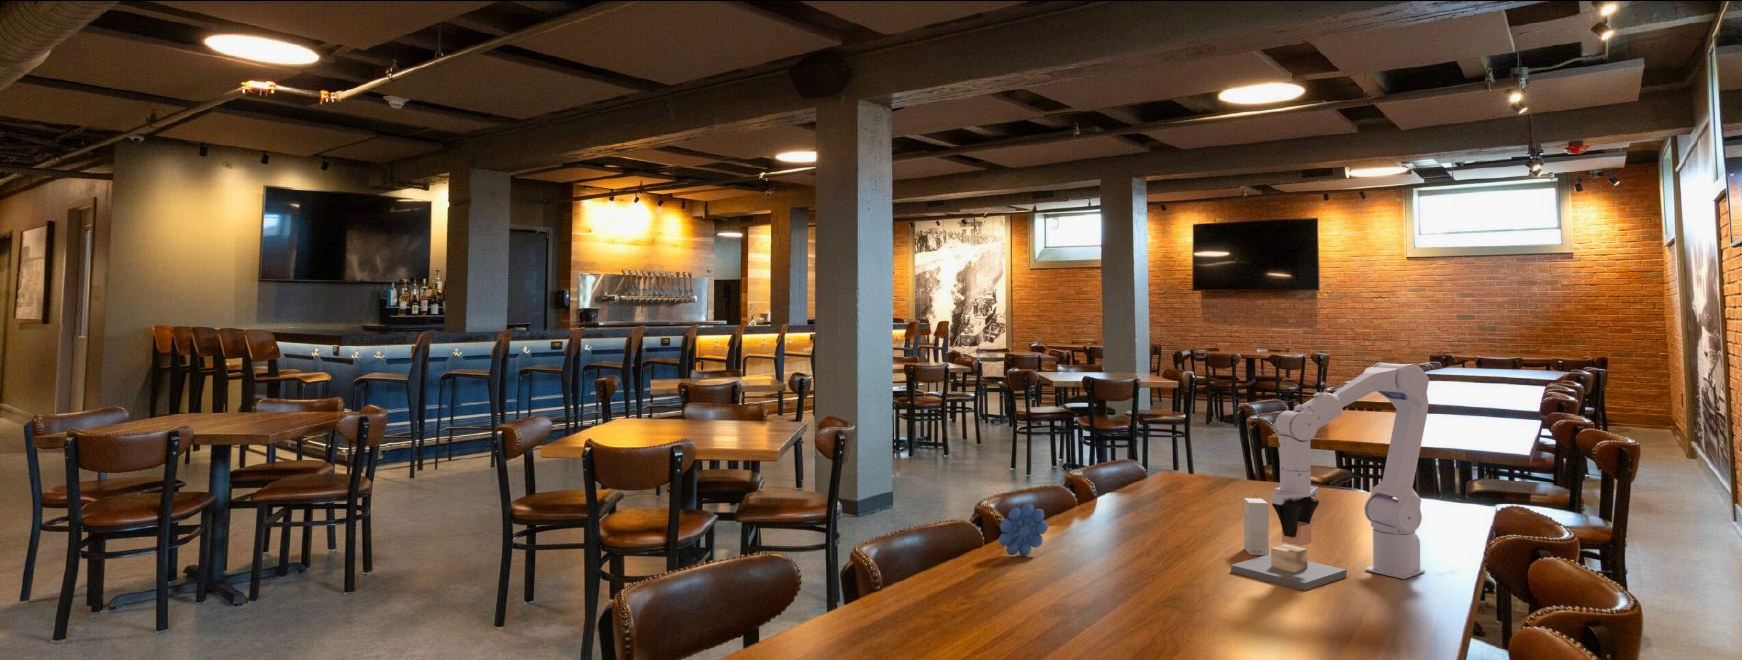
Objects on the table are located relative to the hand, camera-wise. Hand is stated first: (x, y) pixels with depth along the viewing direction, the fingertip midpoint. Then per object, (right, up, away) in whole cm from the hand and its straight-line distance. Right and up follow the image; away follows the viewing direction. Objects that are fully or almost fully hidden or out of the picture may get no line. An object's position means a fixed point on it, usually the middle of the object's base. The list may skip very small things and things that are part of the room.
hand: (1295, 534), depth 178 cm
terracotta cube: (0, -2, 0) cm, 2 cm away
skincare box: (+1, -9, +20) cm, 22 cm away
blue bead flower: (-53, -10, +20) cm, 58 cm away
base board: (0, -9, +2) cm, 9 cm away
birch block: (0, -7, +2) cm, 8 cm away
